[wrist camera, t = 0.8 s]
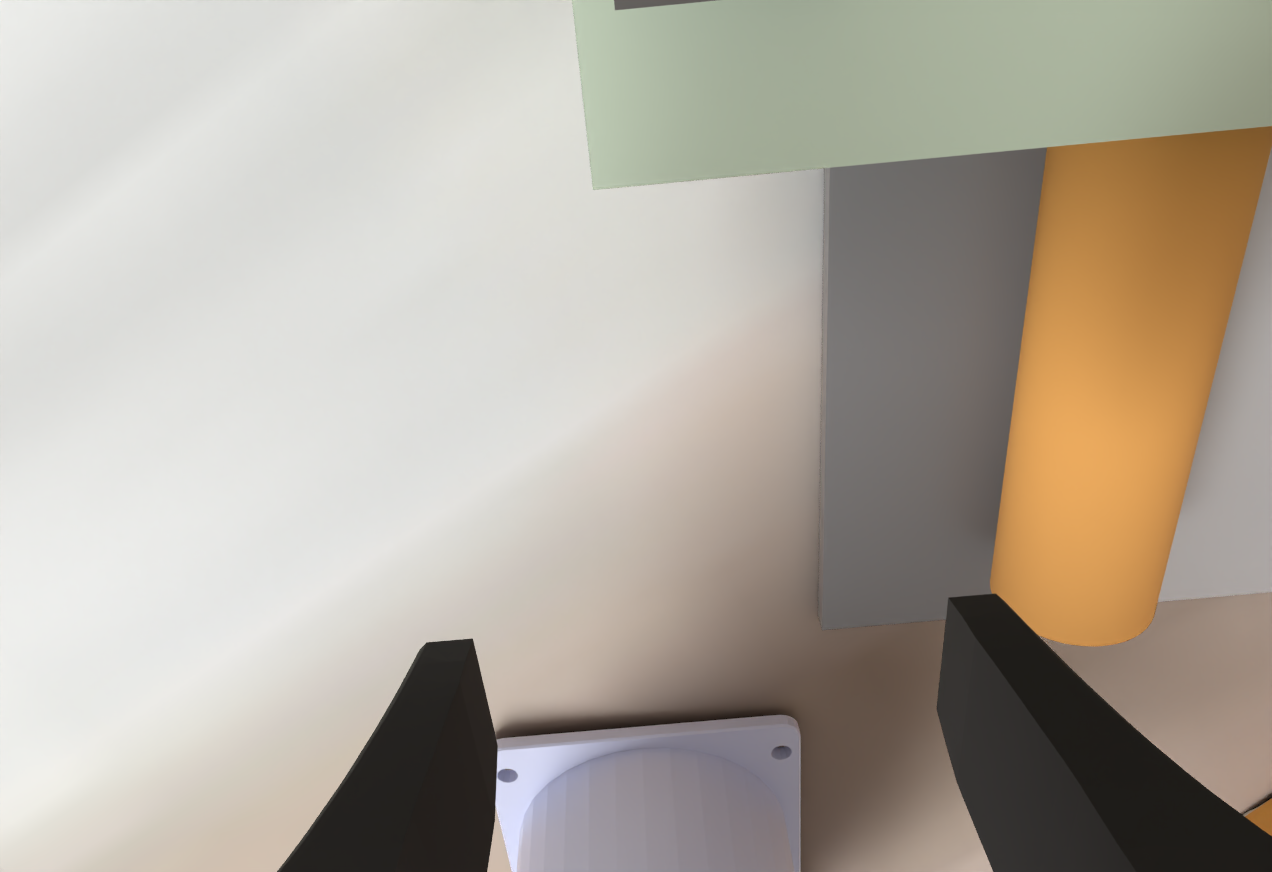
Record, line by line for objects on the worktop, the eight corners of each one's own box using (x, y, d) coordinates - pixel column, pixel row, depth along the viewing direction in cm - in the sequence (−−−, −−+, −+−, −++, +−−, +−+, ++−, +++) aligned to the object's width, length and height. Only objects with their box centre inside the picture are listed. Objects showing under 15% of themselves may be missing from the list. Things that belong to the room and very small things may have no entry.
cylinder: (1122, 541, 22) (1181, 643, 20) (974, 546, 23) (1012, 648, 20) (1223, 73, 17) (1323, 127, 14) (1028, 88, 17) (1090, 143, 15)
